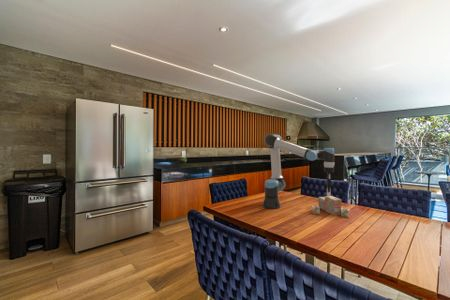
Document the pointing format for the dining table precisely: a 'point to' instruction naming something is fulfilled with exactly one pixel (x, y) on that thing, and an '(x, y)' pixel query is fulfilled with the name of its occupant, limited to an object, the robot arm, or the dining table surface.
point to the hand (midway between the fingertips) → (328, 195)
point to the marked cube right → (345, 212)
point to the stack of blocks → (330, 204)
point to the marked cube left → (316, 209)
